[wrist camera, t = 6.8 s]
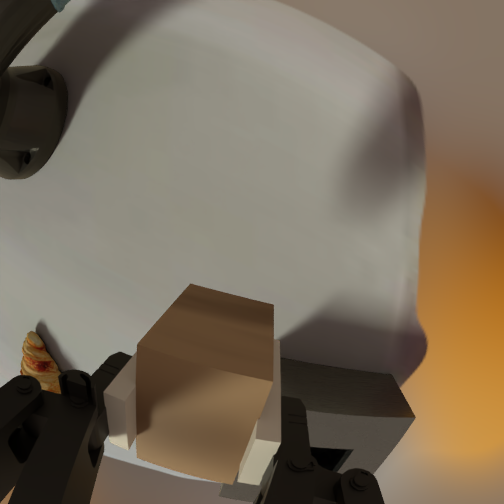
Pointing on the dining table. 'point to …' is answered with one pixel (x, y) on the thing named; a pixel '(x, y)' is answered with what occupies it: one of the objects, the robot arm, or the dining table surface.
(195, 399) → the brown block
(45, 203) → the dining table surface
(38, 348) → the croissant
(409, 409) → the box
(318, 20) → the dining table surface
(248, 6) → the dining table surface
